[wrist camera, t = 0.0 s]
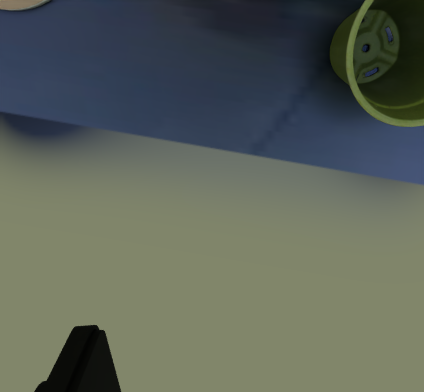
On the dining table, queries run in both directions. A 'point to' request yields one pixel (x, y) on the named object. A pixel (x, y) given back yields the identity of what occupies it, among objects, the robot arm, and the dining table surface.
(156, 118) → the dining table surface
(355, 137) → the dining table surface
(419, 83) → the plant pot
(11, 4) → the dish
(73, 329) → the robot arm
